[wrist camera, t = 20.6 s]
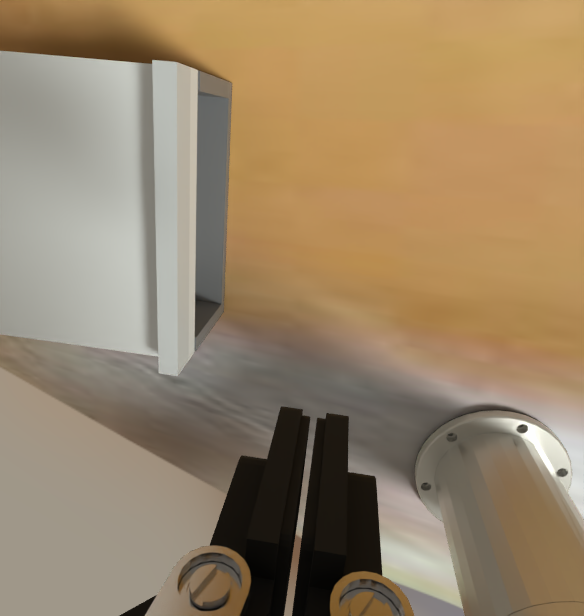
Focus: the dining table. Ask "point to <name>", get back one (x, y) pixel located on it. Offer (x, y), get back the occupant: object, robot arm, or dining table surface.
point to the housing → (211, 200)
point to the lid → (99, 204)
